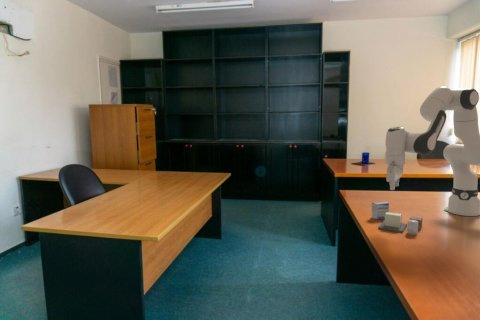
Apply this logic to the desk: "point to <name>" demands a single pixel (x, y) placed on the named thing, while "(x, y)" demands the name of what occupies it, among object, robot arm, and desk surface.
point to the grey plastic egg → (412, 227)
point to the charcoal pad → (392, 227)
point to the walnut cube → (418, 221)
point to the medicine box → (379, 210)
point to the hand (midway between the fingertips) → (394, 187)
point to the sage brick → (393, 219)
